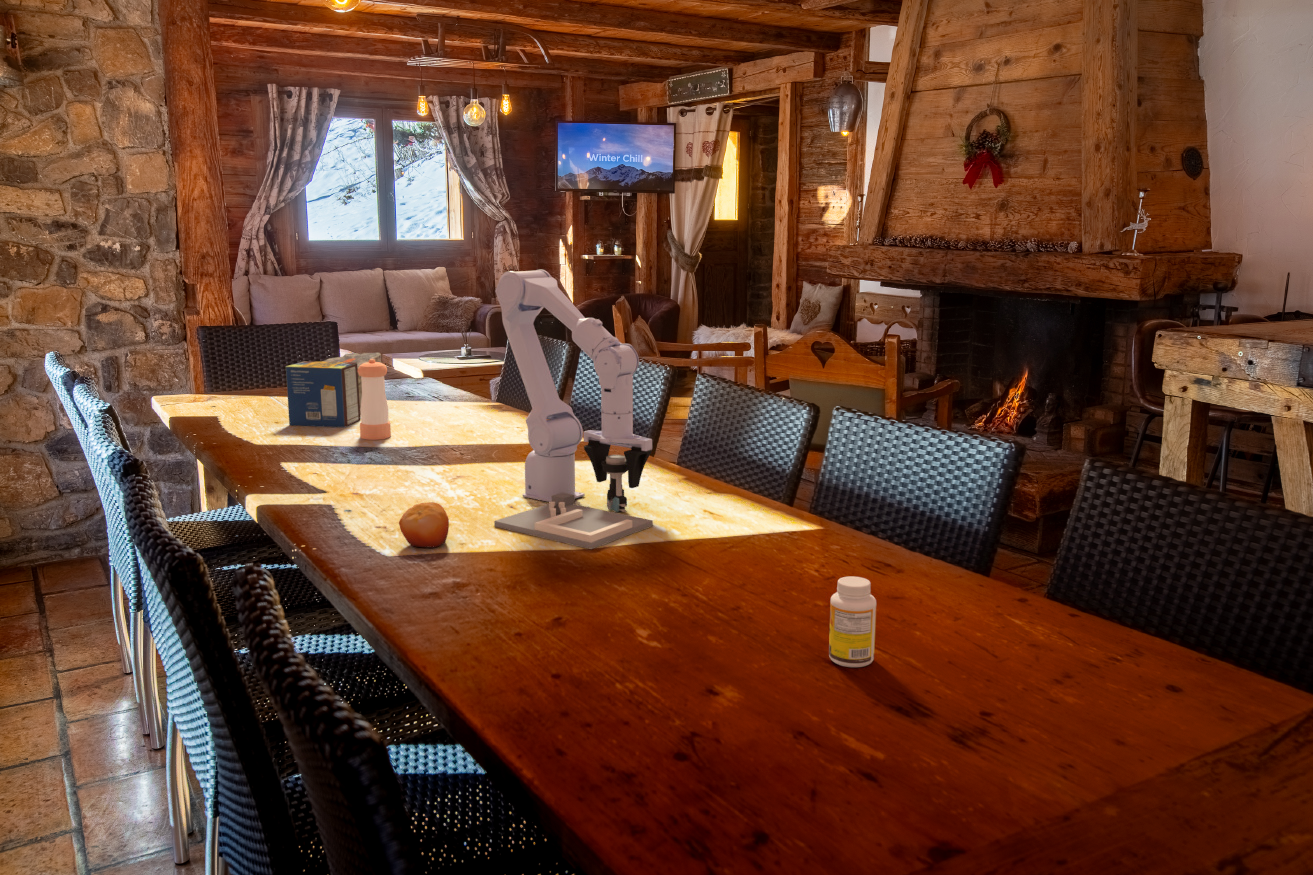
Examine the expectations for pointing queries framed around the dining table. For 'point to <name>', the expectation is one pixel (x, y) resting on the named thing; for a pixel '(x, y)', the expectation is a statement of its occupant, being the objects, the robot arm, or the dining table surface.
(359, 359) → the petrified wood
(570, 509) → the mat
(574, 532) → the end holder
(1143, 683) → the dining table surface
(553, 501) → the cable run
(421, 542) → the fruit
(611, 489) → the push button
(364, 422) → the salt shaker
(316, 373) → the protein box
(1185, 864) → the dining table surface
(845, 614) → the supplement bottle
